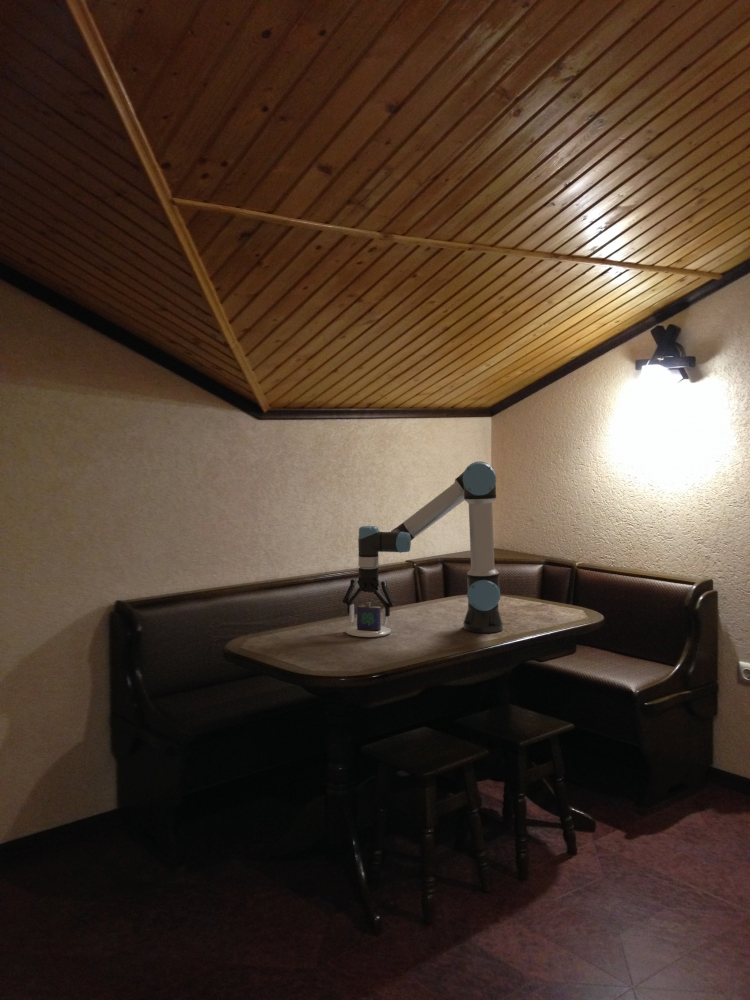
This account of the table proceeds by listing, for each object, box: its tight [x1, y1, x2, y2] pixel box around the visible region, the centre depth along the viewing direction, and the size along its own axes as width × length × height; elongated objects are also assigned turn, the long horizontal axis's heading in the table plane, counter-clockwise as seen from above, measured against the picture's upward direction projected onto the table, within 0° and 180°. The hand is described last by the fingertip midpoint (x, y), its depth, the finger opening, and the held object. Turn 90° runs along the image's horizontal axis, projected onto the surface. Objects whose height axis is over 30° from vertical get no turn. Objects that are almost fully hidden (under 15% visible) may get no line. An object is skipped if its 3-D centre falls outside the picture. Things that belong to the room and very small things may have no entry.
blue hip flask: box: [356, 601, 382, 631], centre depth 310 cm, size 9×3×11 cm, turn 74°
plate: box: [345, 625, 392, 638], centre depth 310 cm, size 17×17×1 cm
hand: (368, 623), depth 310 cm, fingers open, 13 cm apart
